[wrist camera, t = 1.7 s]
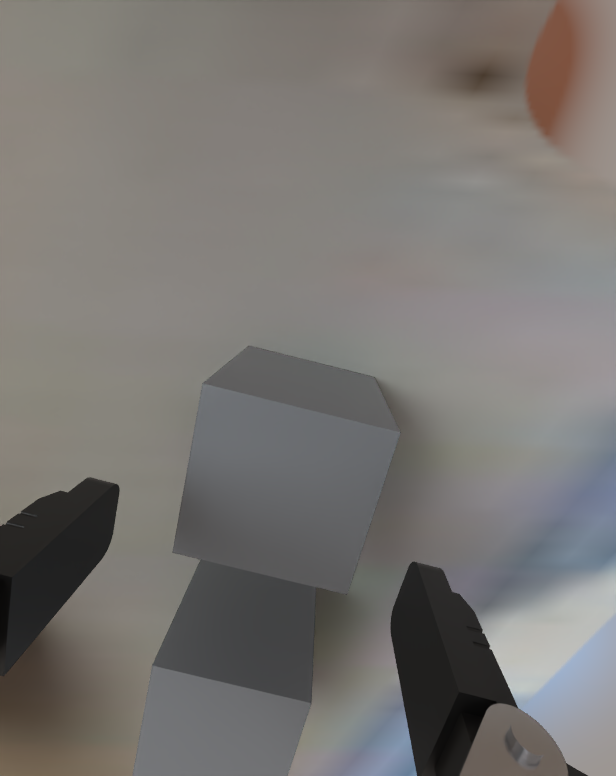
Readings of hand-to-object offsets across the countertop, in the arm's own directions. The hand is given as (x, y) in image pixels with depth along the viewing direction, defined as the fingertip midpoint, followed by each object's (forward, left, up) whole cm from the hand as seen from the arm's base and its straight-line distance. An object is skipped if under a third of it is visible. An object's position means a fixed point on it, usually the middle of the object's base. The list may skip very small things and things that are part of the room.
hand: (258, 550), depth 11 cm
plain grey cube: (+10, 0, -9) cm, 14 cm away
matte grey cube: (-1, 0, -9) cm, 9 cm away
